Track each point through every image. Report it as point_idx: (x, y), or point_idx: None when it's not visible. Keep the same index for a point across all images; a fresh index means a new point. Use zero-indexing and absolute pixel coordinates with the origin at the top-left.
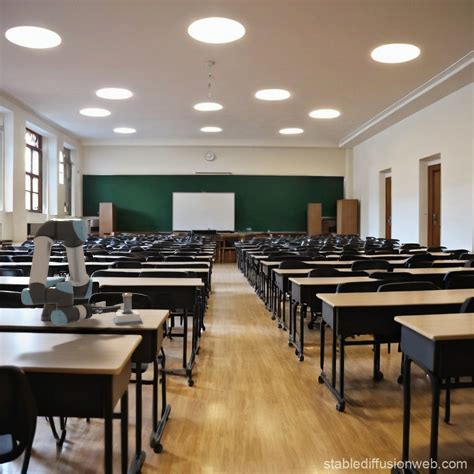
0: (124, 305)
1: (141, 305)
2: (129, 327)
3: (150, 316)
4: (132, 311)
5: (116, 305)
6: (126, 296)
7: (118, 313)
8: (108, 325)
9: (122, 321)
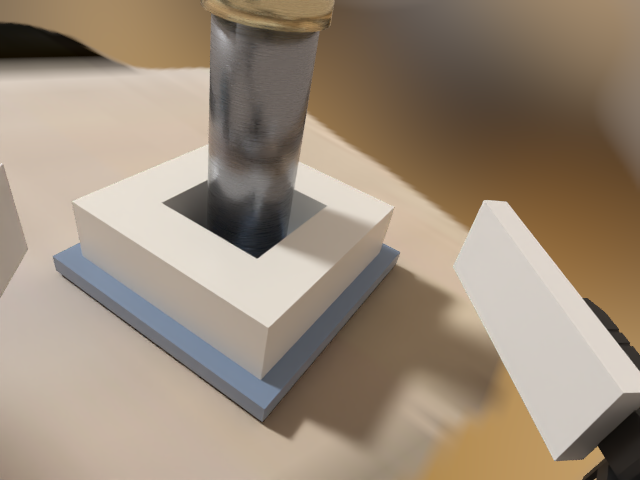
0: (257, 148)
1: (15, 28)
2: (472, 418)
3: None
4: None
5: (616, 346)
6: (311, 30)
7: (174, 241)
8: (179, 473)
9: (296, 338)
